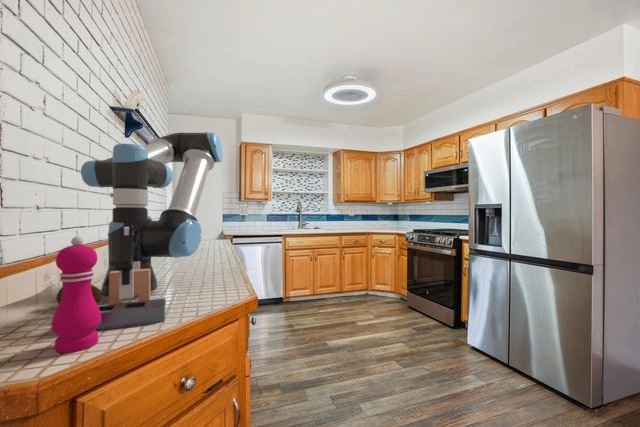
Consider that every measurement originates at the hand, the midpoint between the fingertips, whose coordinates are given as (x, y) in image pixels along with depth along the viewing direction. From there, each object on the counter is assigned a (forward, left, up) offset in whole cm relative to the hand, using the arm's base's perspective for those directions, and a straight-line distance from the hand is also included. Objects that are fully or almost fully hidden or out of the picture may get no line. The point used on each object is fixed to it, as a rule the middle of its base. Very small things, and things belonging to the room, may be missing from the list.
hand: (130, 291), depth 77 cm
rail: (+9, -1, -5) cm, 10 cm away
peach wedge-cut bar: (0, 0, -5) cm, 5 cm away
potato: (-10, -13, -5) cm, 17 cm away
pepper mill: (+20, -6, -5) cm, 21 cm away
